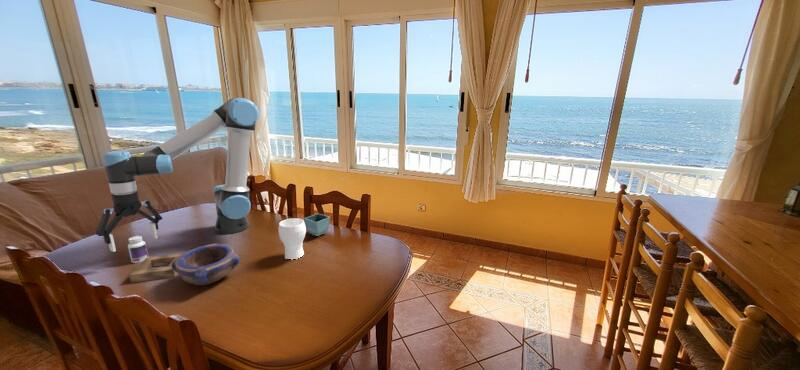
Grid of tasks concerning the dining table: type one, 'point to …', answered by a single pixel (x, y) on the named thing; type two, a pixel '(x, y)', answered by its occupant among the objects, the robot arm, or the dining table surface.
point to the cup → (292, 237)
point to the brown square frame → (147, 273)
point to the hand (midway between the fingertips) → (135, 243)
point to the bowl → (206, 264)
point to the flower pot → (317, 224)
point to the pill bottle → (137, 249)
